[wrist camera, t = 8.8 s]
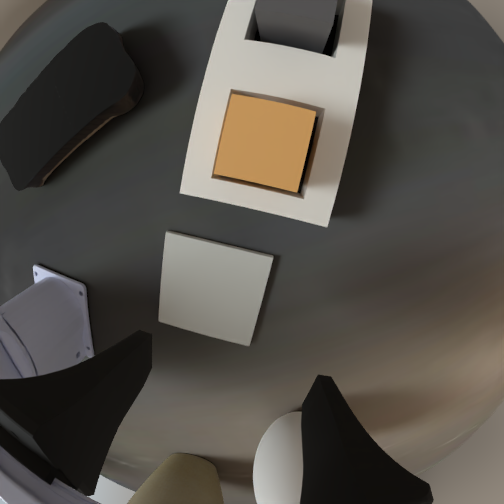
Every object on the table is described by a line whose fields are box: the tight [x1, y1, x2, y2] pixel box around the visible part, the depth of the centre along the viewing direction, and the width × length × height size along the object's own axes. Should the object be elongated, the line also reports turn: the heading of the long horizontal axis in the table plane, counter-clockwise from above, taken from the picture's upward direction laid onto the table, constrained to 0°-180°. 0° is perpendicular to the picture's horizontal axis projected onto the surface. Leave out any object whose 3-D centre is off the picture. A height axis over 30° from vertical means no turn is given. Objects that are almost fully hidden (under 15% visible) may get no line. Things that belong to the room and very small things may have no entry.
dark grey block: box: [254, 0, 337, 54], centre depth 12 cm, size 4×4×6 cm
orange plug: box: [214, 94, 316, 193], centre depth 15 cm, size 4×4×6 cm
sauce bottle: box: [253, 412, 303, 504], centre depth 17 cm, size 8×8×18 cm
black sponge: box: [0, 22, 144, 191], centre depth 16 cm, size 16×8×4 cm, turn 114°
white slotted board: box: [180, 0, 372, 227], centre depth 14 cm, size 23×9×3 cm, turn 168°
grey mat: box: [159, 230, 273, 346], centre depth 21 cm, size 8×8×1 cm
